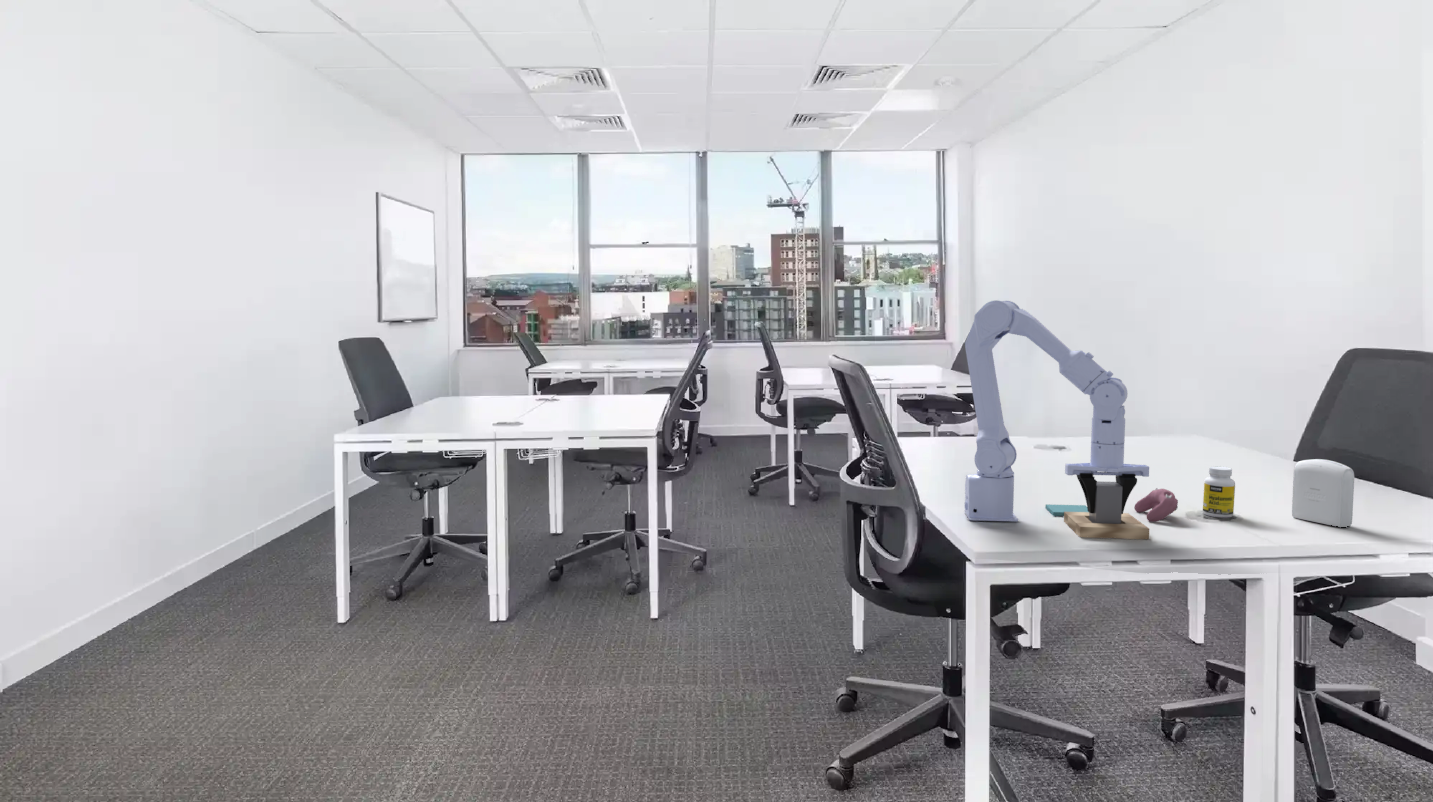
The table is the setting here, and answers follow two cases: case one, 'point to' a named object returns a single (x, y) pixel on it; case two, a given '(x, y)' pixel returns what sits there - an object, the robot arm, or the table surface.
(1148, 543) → the table surface
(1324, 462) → the photo printer
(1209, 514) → the supplement bottle
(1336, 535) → the table surface
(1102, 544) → the table surface
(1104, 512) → the plug
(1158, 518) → the video game controller
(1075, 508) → the rubber mat
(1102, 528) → the square wooden frame
